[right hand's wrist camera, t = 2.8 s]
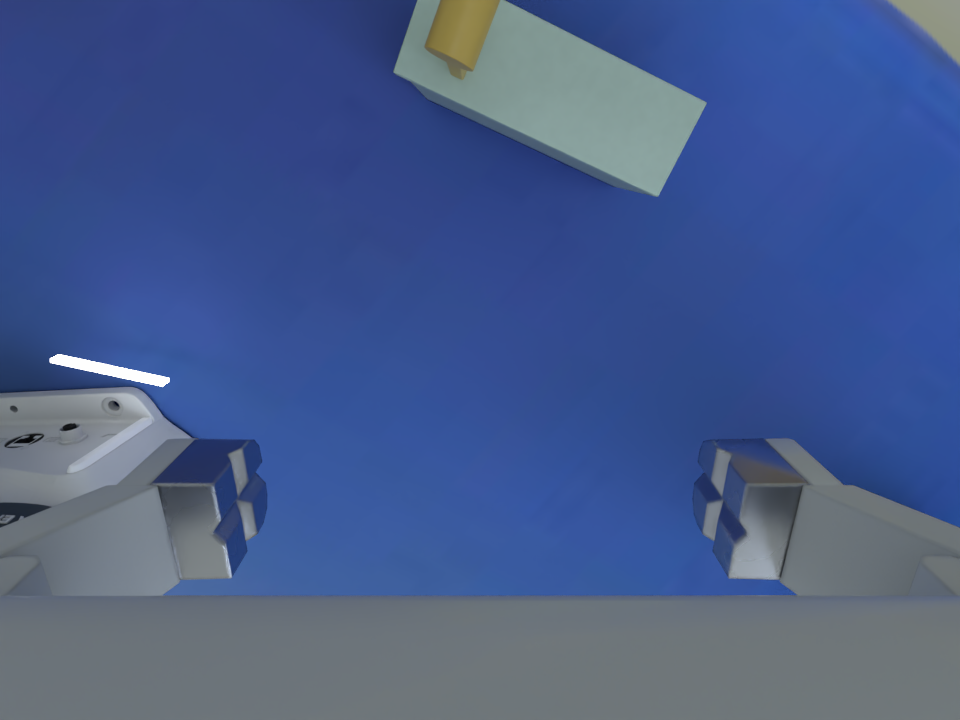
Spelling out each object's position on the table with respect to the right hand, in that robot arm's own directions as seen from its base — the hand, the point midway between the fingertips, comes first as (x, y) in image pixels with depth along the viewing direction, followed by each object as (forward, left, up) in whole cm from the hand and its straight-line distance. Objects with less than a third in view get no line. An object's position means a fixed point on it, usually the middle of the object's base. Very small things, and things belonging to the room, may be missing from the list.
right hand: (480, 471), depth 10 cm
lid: (+2, +9, -22) cm, 24 cm away
